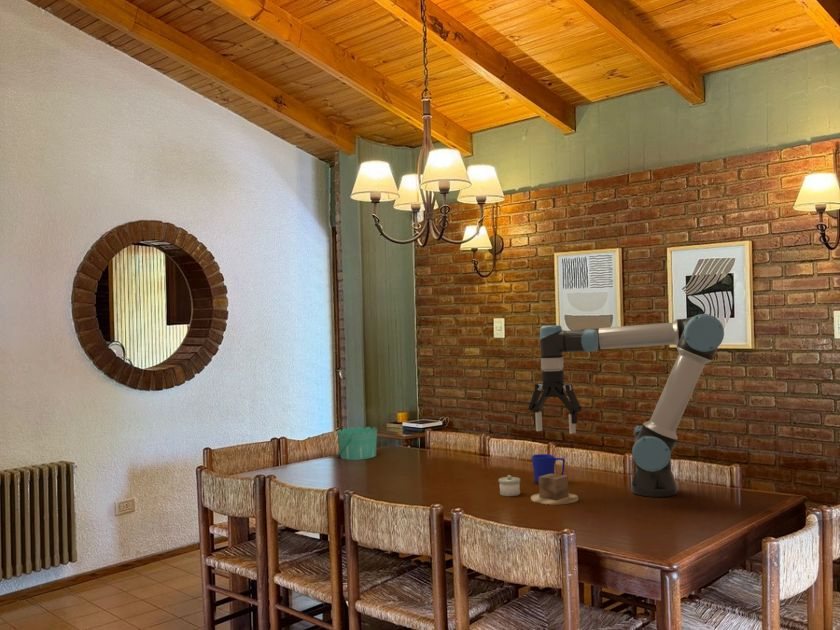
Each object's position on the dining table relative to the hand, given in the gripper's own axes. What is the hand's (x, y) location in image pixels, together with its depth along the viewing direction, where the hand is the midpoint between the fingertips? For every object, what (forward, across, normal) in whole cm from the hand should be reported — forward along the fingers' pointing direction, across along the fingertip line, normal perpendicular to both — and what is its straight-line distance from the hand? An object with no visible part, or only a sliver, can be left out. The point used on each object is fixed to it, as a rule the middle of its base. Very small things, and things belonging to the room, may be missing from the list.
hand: (555, 432), depth 256 cm
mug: (+22, +16, -18) cm, 33 cm away
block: (+22, 0, +3) cm, 22 cm away
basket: (+21, +121, -14) cm, 124 cm away
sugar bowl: (+22, +17, +5) cm, 28 cm away
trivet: (+22, 0, +3) cm, 23 cm away
